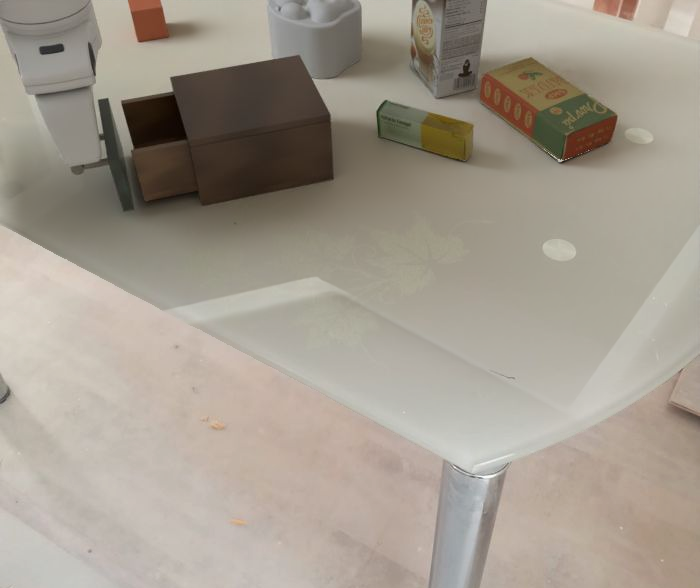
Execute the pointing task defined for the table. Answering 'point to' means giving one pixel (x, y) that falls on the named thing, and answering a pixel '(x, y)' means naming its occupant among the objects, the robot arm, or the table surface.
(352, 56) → the lumpy-topped squat cylinder
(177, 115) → the drawer
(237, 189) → the cabinet
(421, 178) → the table surface
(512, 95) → the carton
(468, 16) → the coffee box
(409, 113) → the medication box
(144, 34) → the block
